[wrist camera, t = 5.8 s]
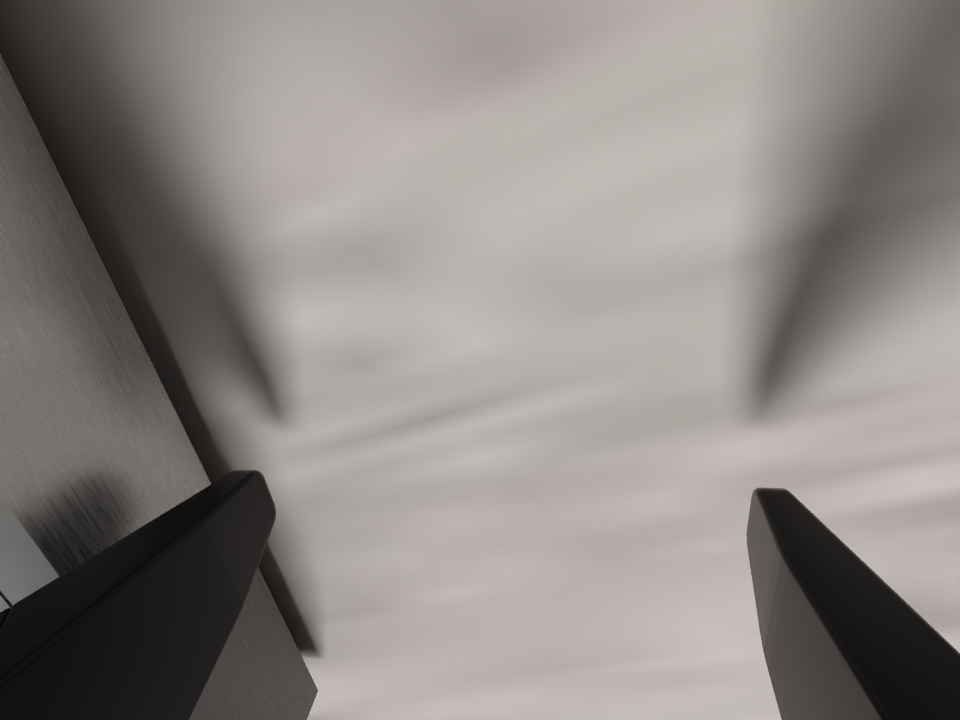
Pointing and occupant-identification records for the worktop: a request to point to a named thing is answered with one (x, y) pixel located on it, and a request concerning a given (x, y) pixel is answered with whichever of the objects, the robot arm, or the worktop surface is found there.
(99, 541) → the tongs arm
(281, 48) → the worktop surface
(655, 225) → the worktop surface
